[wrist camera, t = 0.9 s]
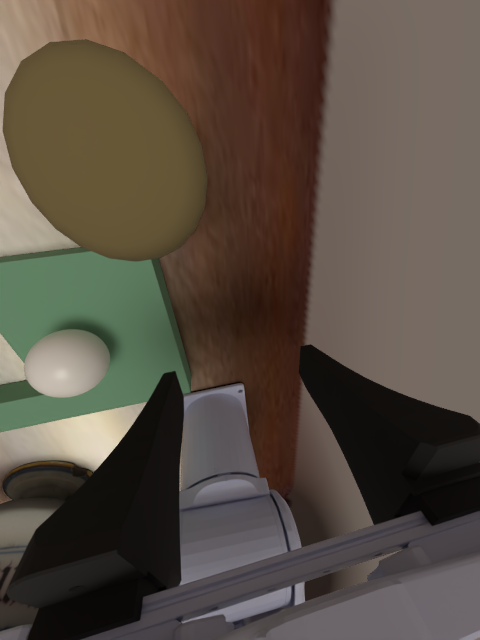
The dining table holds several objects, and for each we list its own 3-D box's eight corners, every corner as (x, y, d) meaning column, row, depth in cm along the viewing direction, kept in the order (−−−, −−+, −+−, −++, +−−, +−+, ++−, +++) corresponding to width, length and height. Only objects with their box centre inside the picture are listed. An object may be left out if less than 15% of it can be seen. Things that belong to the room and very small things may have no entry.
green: (191, 374, 23) (190, 392, 21) (-27, 417, 21) (-53, 443, 18) (152, 238, 16) (146, 244, 14) (-187, 280, 14) (-258, 295, 11)
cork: (162, 104, 13) (70, -170, 3) (223, 200, 16) (267, 204, 6) (90, 173, 14) (-147, 115, 4) (161, 251, 17) (118, 321, 7)
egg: (126, 359, 18) (108, 404, 14) (68, 370, 17) (32, 419, 13) (104, 312, 15) (74, 350, 12) (37, 323, 15) (-18, 366, 11)
